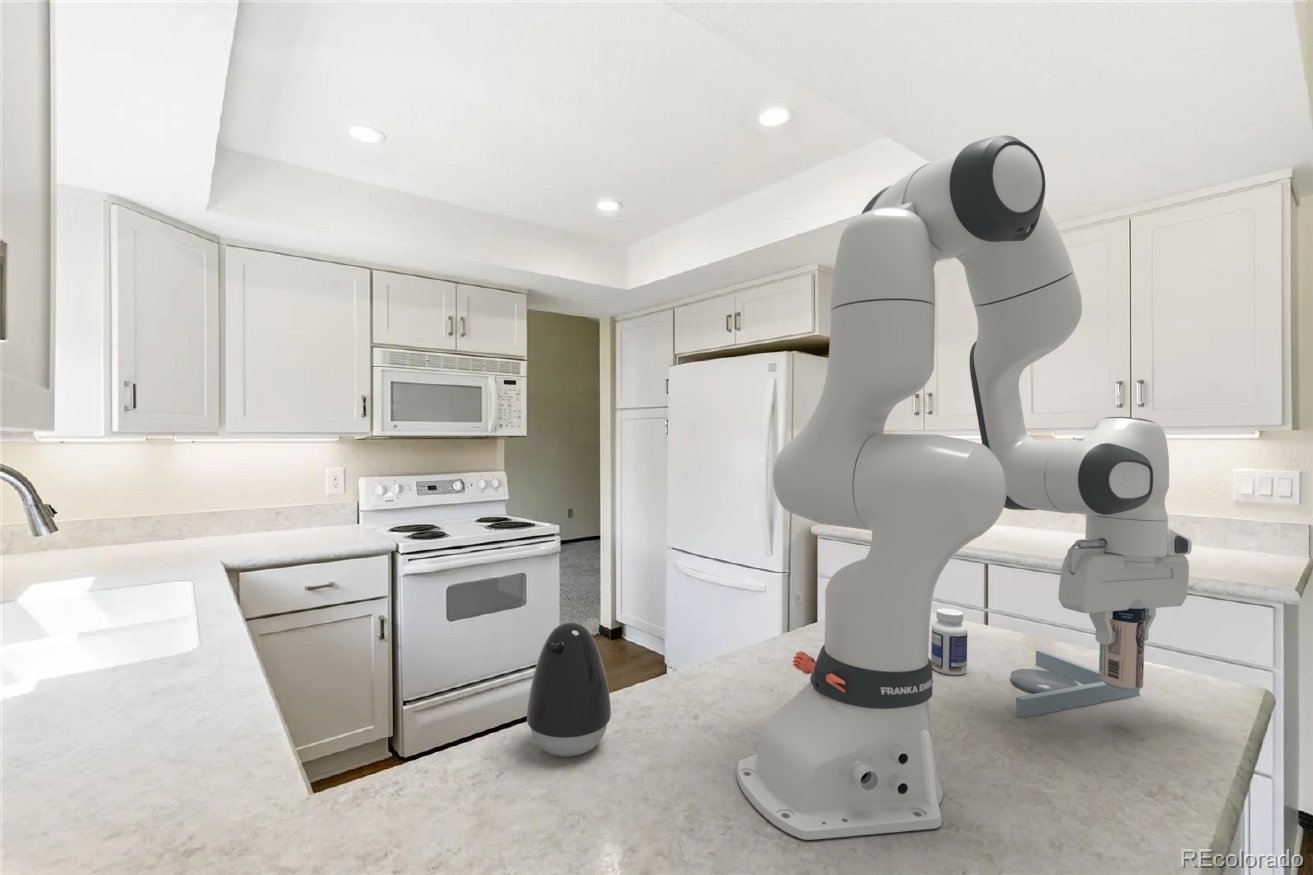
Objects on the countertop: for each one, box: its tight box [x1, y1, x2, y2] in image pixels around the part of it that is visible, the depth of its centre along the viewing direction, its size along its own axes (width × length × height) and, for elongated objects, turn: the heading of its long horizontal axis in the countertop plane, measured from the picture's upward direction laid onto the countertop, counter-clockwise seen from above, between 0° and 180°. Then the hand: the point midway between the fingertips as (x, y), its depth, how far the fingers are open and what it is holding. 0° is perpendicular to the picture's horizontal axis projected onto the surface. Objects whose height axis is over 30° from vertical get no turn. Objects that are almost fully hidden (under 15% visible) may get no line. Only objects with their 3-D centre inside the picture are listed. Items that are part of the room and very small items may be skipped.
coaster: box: [1010, 668, 1079, 694], centre depth 97 cm, size 9×9×1 cm
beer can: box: [1098, 599, 1146, 691], centre depth 84 cm, size 5×5×12 cm
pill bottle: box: [930, 607, 968, 676], centre depth 103 cm, size 5×5×10 cm
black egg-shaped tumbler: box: [526, 622, 612, 758], centre depth 77 cm, size 10×10×15 cm
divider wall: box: [1015, 649, 1140, 719], centre depth 97 cm, size 24×14×2 cm, turn 110°
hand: (1122, 641), depth 84 cm, fingers closed on beer can, 5 cm apart
